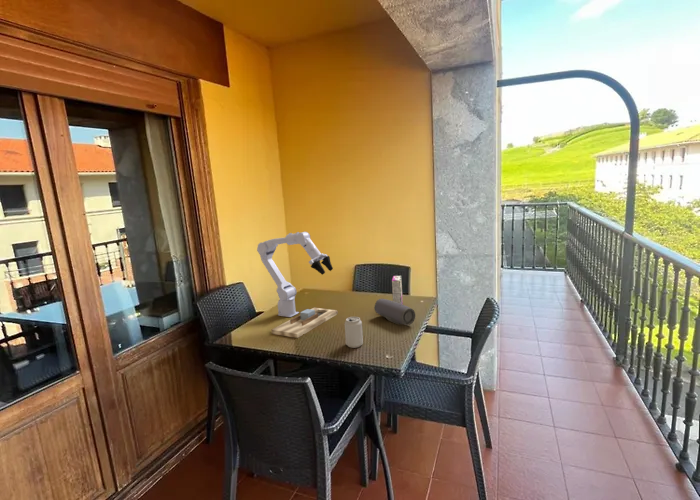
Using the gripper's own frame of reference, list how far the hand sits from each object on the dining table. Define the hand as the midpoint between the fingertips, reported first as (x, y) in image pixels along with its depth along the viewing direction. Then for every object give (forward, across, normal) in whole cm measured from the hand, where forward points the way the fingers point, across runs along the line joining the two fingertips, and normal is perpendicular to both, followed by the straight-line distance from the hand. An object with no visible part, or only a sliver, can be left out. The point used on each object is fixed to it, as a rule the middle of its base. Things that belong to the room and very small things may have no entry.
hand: (327, 271), depth 189 cm
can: (+37, -26, -7) cm, 45 cm away
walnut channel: (+13, -12, +22) cm, 28 cm away
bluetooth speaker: (+41, +7, -10) cm, 43 cm away
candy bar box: (+37, +31, -3) cm, 49 cm away
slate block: (+13, -9, +22) cm, 27 cm away
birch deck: (+15, -10, +23) cm, 29 cm away
